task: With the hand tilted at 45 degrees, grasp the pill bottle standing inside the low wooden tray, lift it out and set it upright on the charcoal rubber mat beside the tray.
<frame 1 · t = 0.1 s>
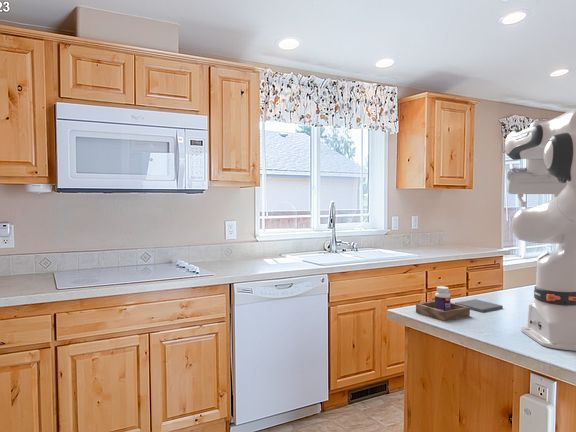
hand: (538, 206, 154), 39 cm above the counter, tool pointing down, fingers open, 8 cm apart
milk carton: (546, 292, 195), on the counter
pill bottle: (442, 314, 157), resting in wooden tray
rubber mat: (478, 306, 167), on the counter
wooden tray: (442, 313, 157), on the counter
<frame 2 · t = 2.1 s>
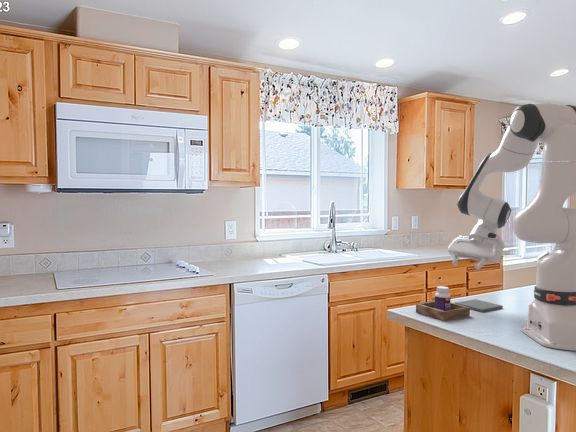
hand: (465, 266, 164), 16 cm above the counter, tool tilted 45°, fingers open, 8 cm apart
nothing on the counter moved.
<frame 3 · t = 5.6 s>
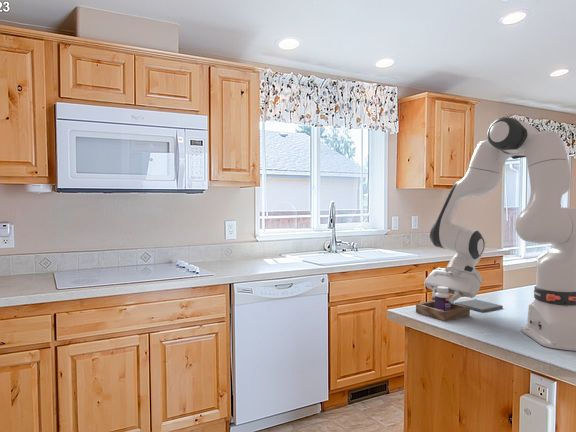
hand: (441, 300, 156), 5 cm above the counter, tool tilted 45°, fingers closed on pill bottle, 5 cm apart
pill bottle: (442, 314, 157), resting in wooden tray, touching gripper
everything else where it was.
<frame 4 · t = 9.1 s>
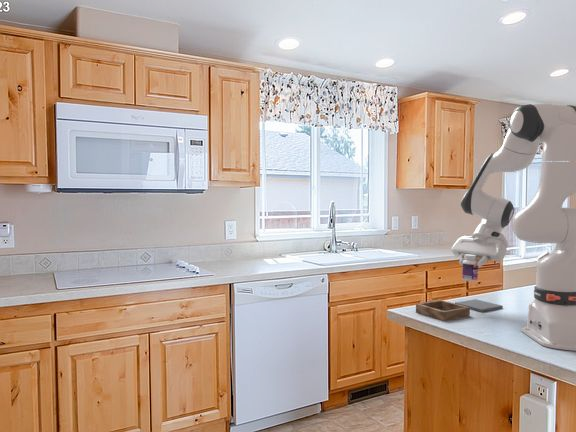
hand: (469, 265, 164), 17 cm above the counter, tool tilted 45°, fingers closed on pill bottle, 5 cm apart
pill bottle: (469, 280, 165), point 10 cm above the counter, touching gripper
everything else where it was.
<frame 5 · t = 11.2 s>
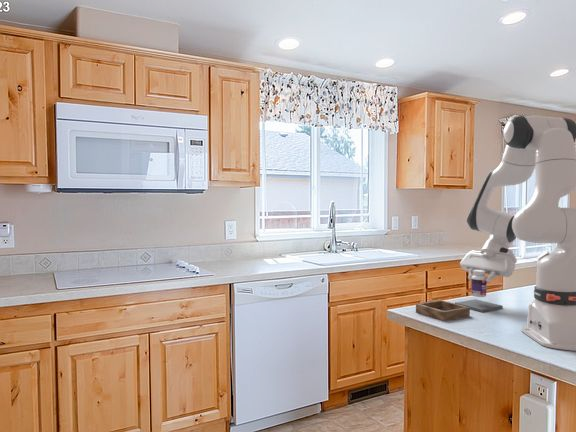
hand: (478, 280, 167), 10 cm above the counter, tool tilted 45°, fingers closed on pill bottle, 5 cm apart
pill bottle: (478, 296, 168), point 4 cm above the counter, touching gripper
everything else where it was.
when the fingers open (7 cm above the counter, at t = 12.8 s): pill bottle stays where it is, resting on rubber mat.
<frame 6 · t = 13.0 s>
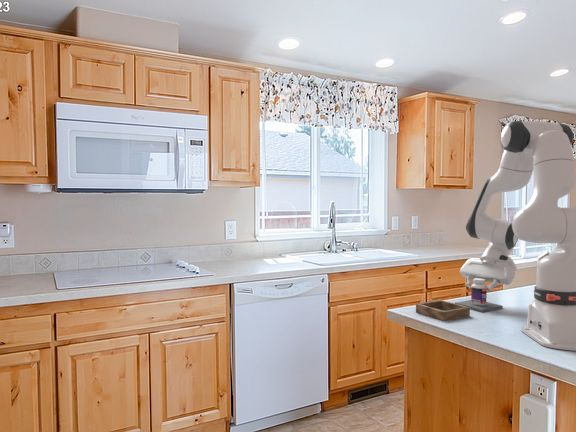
hand: (477, 288, 167), 7 cm above the counter, tool tilted 45°, fingers open, 7 cm apart
pill bottle: (478, 304, 167), point 1 cm above the counter, touching rubber mat
everything else where it was.
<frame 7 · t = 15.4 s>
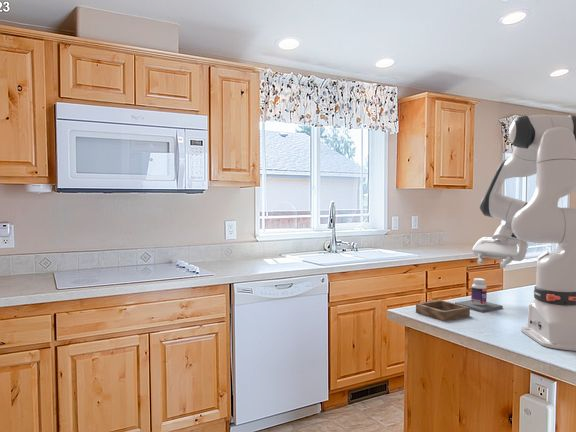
hand: (490, 265, 171), 16 cm above the counter, tool tilted 45°, fingers open, 8 cm apart
nothing on the counter moved.
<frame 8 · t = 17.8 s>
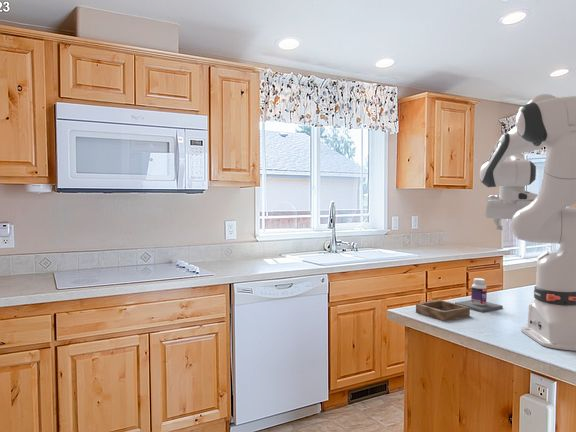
hand: (511, 231, 169), 29 cm above the counter, tool pointing down, fingers open, 8 cm apart
nothing on the counter moved.
at the end: pill bottle inside the target area on the rubber mat (0.1 cm from its centre), point 0.8 cm above the rubber mat's base; pill bottle tilted 0°; the gripper is holding nothing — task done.
